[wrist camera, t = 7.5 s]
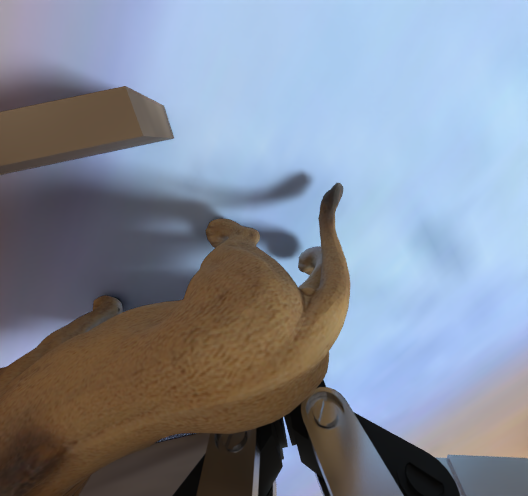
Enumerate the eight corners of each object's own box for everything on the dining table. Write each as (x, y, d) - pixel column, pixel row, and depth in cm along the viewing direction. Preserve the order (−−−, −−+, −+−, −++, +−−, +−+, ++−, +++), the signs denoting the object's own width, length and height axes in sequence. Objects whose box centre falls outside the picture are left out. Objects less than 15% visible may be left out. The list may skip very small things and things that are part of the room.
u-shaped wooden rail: (-391, 221, 8) (-737, 264, 5) (163, 105, 8) (125, 85, 5) (-18, 493, 15) (-75, 571, 12) (265, 428, 15) (271, 490, 13)
